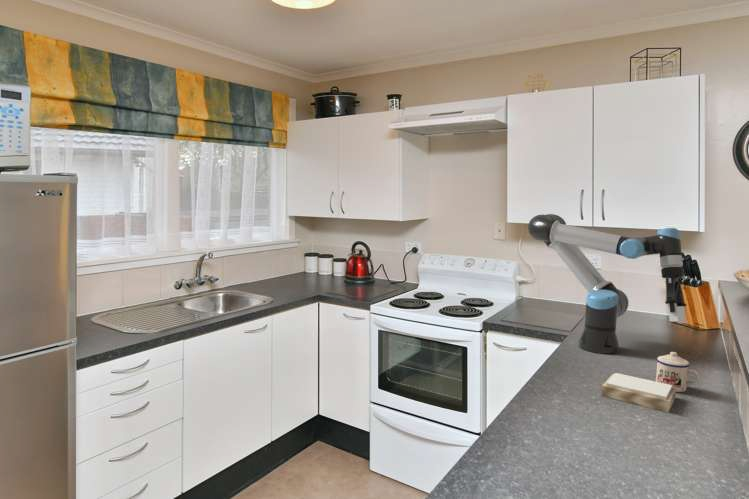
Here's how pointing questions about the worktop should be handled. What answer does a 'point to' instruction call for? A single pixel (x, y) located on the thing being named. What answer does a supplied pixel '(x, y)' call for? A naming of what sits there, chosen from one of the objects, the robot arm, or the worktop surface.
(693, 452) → the worktop surface
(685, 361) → the teacup with lid
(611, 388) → the oak tea stand
